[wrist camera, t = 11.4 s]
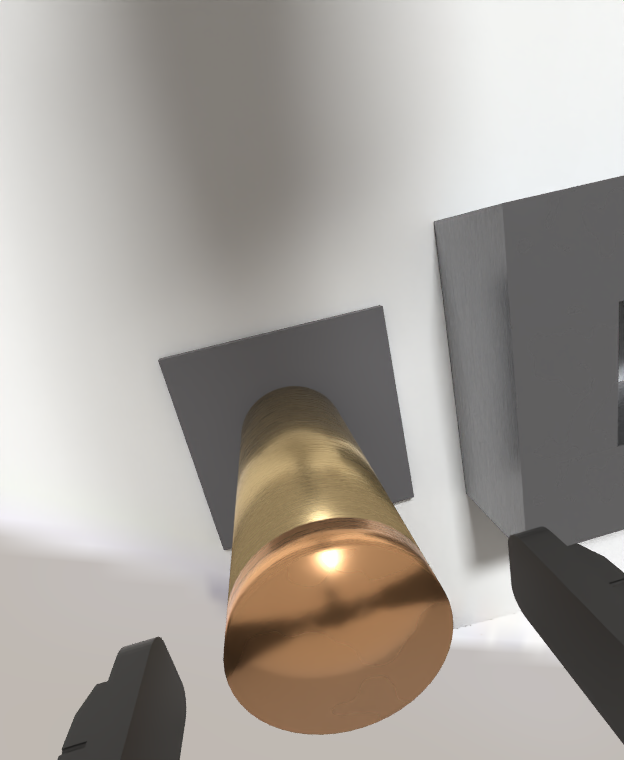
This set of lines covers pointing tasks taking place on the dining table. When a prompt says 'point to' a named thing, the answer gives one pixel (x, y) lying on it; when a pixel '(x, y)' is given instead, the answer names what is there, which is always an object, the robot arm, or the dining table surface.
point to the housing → (539, 357)
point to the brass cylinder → (324, 578)
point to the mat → (283, 369)
